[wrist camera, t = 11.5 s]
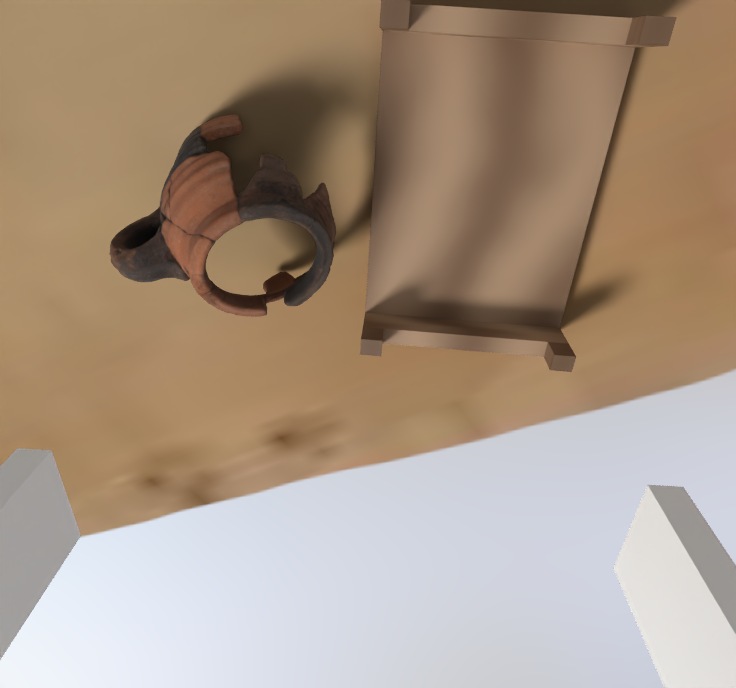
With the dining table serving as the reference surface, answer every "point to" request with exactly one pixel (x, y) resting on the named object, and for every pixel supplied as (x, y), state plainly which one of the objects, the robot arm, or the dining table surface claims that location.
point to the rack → (489, 171)
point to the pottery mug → (223, 223)
